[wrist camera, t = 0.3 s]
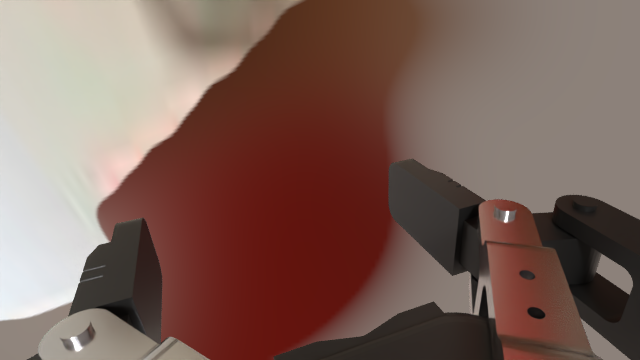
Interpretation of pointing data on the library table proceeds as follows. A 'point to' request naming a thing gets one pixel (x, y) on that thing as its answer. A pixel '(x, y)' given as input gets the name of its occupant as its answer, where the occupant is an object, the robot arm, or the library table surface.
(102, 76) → the library table surface
